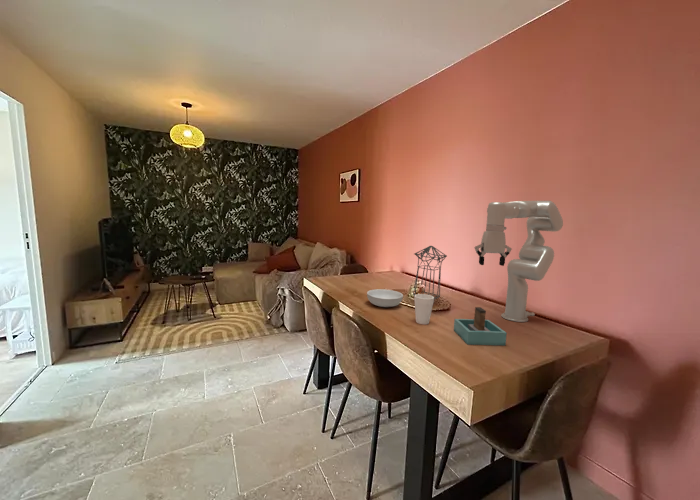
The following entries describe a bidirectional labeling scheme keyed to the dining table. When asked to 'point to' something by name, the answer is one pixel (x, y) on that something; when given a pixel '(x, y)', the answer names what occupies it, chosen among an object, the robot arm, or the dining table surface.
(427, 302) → the foam cup
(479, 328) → the brown rectangular block
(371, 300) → the serving bowl
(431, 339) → the dining table surface
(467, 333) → the teal shallow tray
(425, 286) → the geometric lantern
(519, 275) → the robot arm
